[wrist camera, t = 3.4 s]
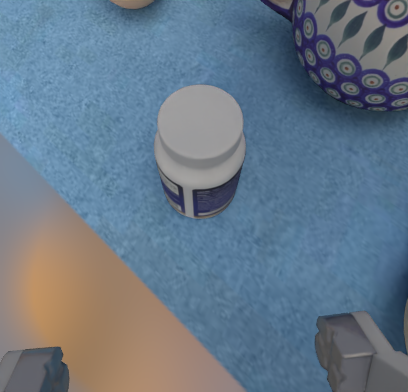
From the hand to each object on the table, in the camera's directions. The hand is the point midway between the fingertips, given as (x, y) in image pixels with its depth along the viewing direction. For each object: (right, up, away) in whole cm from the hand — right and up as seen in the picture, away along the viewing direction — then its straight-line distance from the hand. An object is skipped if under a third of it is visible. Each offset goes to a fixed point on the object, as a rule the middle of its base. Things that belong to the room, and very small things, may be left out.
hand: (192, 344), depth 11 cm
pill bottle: (0, +5, +17) cm, 18 cm away
